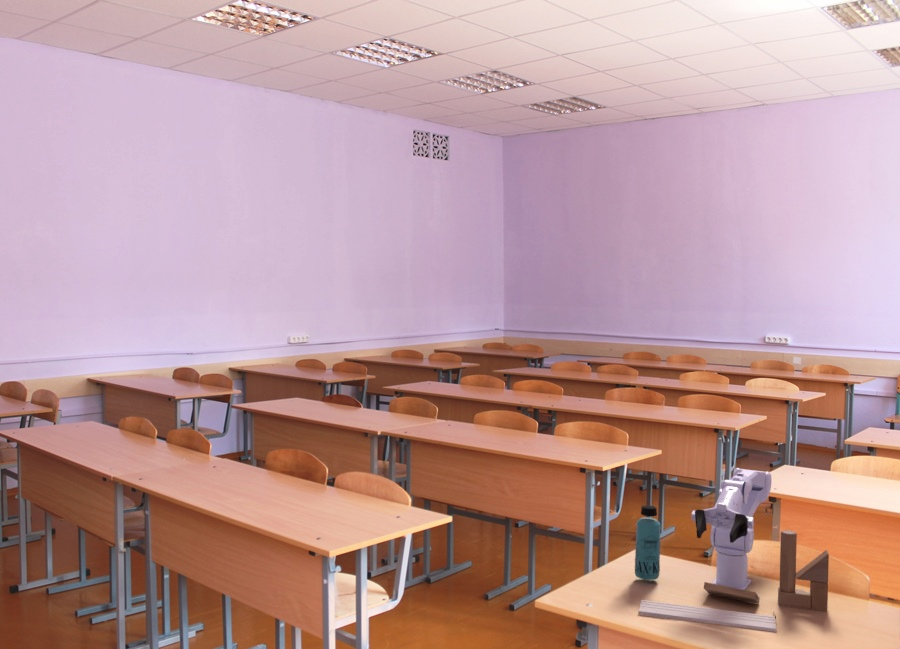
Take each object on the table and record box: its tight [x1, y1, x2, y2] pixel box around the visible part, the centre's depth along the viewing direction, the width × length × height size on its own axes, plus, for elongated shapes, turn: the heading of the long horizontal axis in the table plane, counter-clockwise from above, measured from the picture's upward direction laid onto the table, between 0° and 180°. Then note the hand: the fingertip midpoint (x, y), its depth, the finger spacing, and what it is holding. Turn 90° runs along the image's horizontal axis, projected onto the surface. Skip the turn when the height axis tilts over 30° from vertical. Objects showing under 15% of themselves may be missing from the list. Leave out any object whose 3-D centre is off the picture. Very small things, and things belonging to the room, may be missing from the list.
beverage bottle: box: [633, 504, 662, 581], centre depth 205 cm, size 6×7×20 cm
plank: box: [703, 581, 760, 605], centre depth 192 cm, size 6×12×2 cm
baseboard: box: [638, 599, 778, 633], centre depth 184 cm, size 30×3×10 cm
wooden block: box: [777, 529, 830, 613], centre depth 189 cm, size 4×11×18 cm, turn 71°
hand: (714, 536), depth 186 cm, fingers open, 7 cm apart
